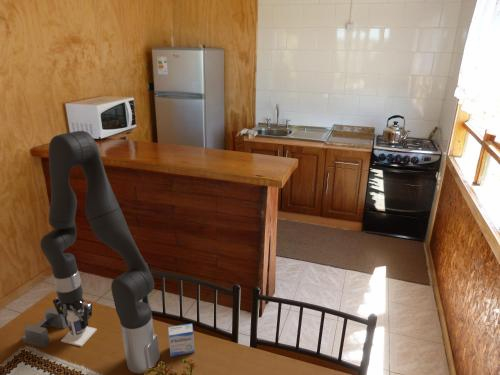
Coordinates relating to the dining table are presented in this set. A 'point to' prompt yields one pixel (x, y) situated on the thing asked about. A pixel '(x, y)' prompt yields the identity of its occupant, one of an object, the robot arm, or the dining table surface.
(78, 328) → the pill bottle
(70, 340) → the mat
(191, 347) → the medicine box
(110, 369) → the dining table surface
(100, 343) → the dining table surface
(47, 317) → the dumbbell
